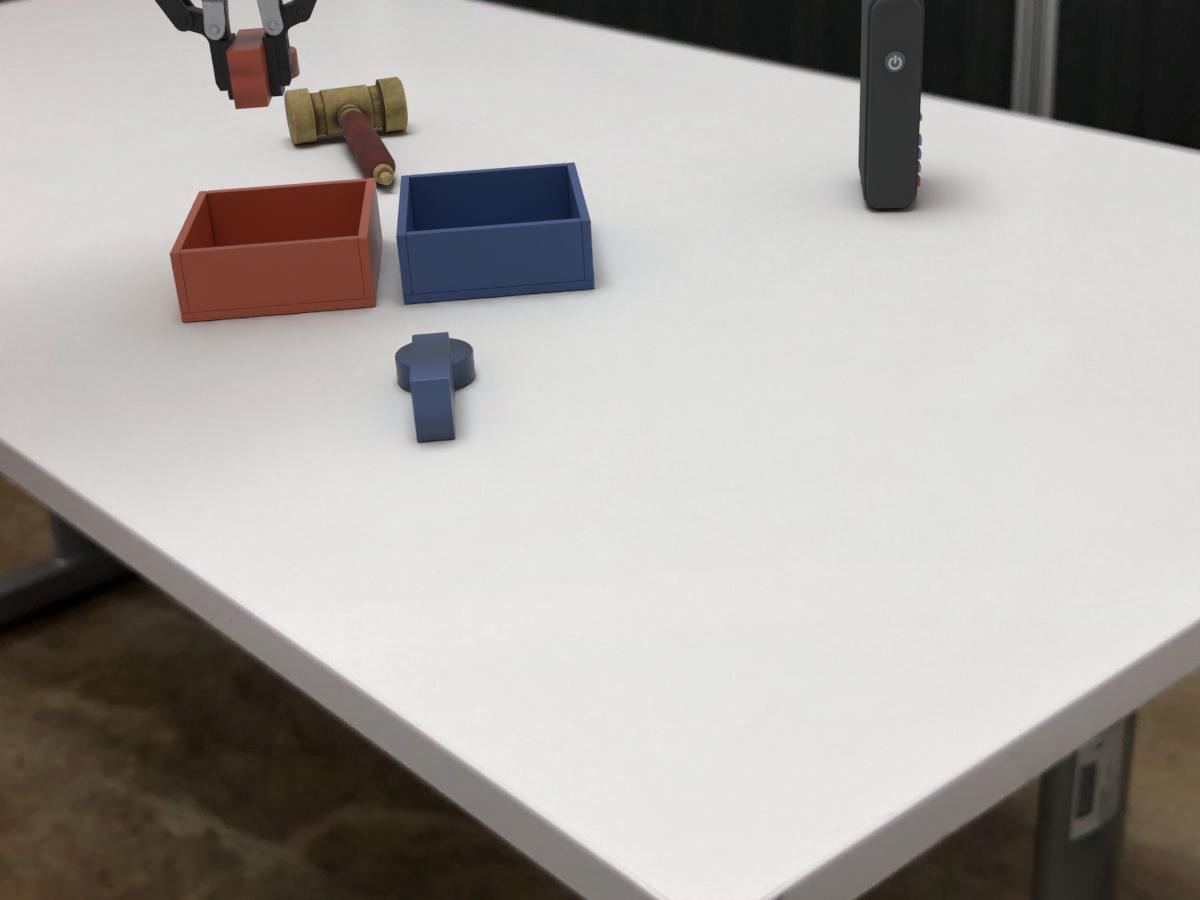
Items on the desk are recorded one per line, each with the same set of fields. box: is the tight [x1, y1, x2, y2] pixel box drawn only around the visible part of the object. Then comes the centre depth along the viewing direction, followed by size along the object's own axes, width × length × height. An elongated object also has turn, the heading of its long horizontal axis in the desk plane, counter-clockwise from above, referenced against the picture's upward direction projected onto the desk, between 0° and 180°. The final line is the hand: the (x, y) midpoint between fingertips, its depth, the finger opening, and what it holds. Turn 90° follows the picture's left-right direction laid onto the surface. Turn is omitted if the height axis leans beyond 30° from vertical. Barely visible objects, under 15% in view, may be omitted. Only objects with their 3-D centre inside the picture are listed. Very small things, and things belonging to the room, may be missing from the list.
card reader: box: [857, 0, 926, 209], centre depth 112 cm, size 9×4×15 cm, turn 174°
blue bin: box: [395, 161, 596, 305], centre depth 105 cm, size 12×13×5 cm
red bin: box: [169, 177, 384, 323], centre depth 104 cm, size 12×13×5 cm
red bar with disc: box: [226, 27, 301, 110], centre depth 98 cm, size 10×4×4 cm, turn 5°
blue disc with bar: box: [394, 331, 476, 443], centre depth 86 cm, size 10×4×4 cm, turn 5°
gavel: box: [283, 76, 409, 186], centre depth 130 cm, size 21×5×10 cm
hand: (257, 94), depth 97 cm, fingers closed on red bar with disc, 2 cm apart
